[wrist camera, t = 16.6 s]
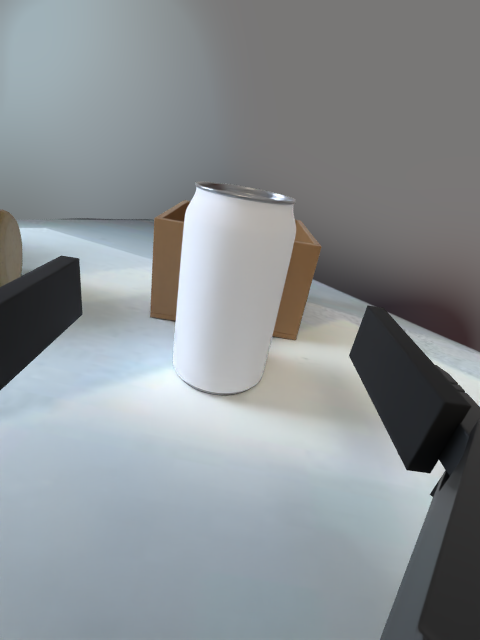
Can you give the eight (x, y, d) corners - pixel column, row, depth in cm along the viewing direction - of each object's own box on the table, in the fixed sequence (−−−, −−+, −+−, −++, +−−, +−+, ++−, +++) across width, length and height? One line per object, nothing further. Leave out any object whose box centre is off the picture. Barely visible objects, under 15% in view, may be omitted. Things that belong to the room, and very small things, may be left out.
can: (277, 393, 22) (327, 208, 17) (180, 403, 19) (203, 191, 14) (244, 342, 27) (274, 190, 22) (165, 346, 25) (177, 176, 19)
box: (295, 340, 29) (321, 246, 25) (150, 317, 28) (154, 217, 25) (283, 291, 40) (300, 220, 36) (178, 273, 39) (184, 200, 35)
